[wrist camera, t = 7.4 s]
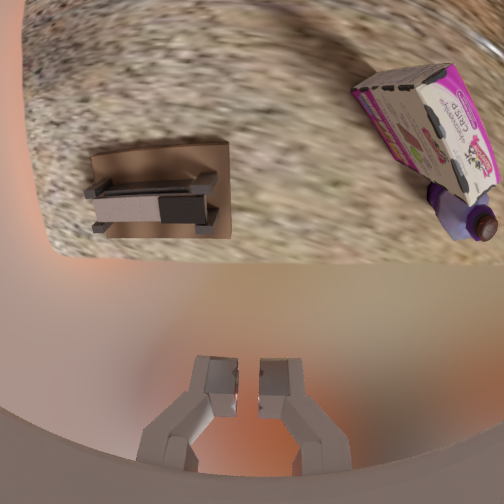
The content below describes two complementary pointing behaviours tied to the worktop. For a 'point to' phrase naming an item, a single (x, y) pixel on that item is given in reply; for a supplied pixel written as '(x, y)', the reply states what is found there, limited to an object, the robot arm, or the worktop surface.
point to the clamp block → (194, 186)
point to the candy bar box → (432, 127)
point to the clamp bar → (153, 208)
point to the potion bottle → (462, 215)
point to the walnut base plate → (169, 168)
